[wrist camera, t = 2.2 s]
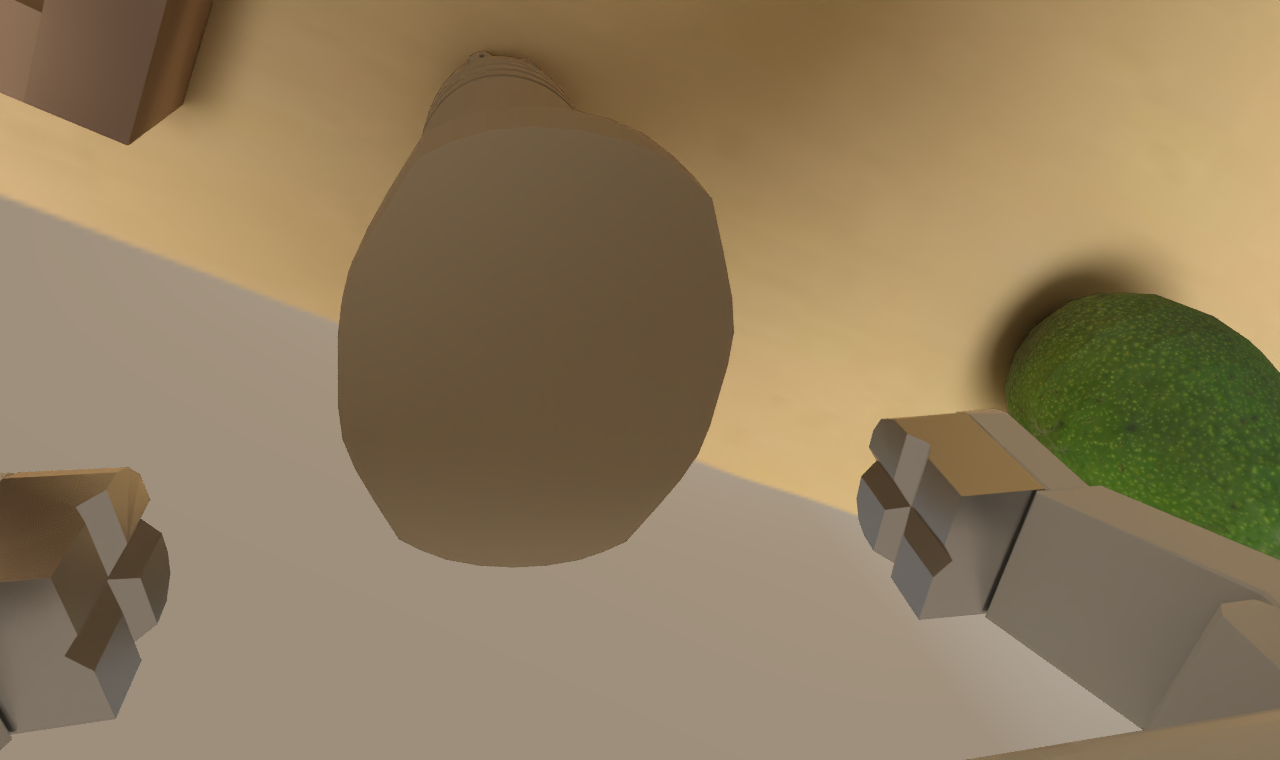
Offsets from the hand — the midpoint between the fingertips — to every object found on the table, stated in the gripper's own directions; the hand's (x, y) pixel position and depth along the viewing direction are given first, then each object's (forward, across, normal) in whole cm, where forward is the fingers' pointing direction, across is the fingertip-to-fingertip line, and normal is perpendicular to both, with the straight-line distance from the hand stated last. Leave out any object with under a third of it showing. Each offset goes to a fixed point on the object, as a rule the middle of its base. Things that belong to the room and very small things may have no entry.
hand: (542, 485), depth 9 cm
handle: (+17, 0, -1) cm, 17 cm away
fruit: (+17, -22, +8) cm, 29 cm away
